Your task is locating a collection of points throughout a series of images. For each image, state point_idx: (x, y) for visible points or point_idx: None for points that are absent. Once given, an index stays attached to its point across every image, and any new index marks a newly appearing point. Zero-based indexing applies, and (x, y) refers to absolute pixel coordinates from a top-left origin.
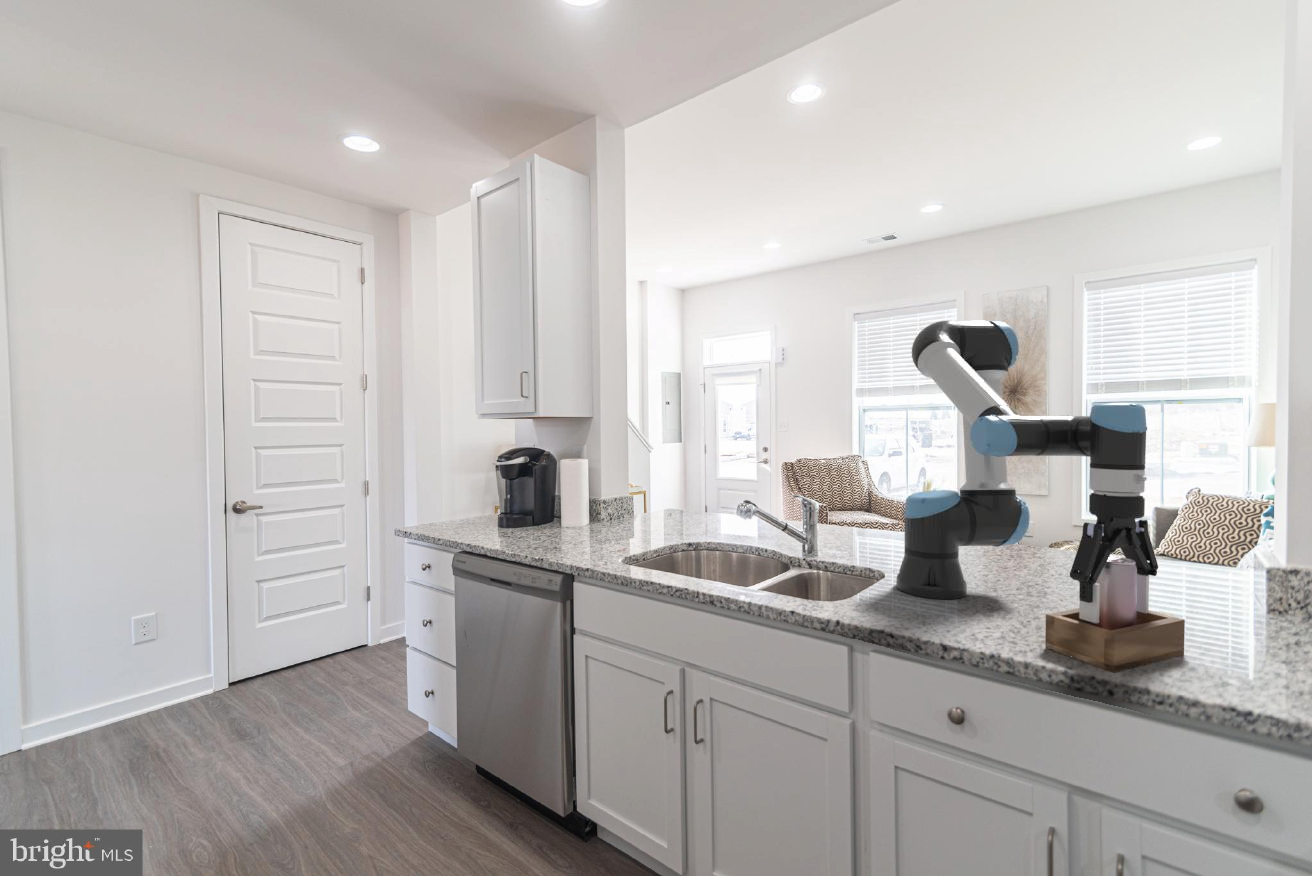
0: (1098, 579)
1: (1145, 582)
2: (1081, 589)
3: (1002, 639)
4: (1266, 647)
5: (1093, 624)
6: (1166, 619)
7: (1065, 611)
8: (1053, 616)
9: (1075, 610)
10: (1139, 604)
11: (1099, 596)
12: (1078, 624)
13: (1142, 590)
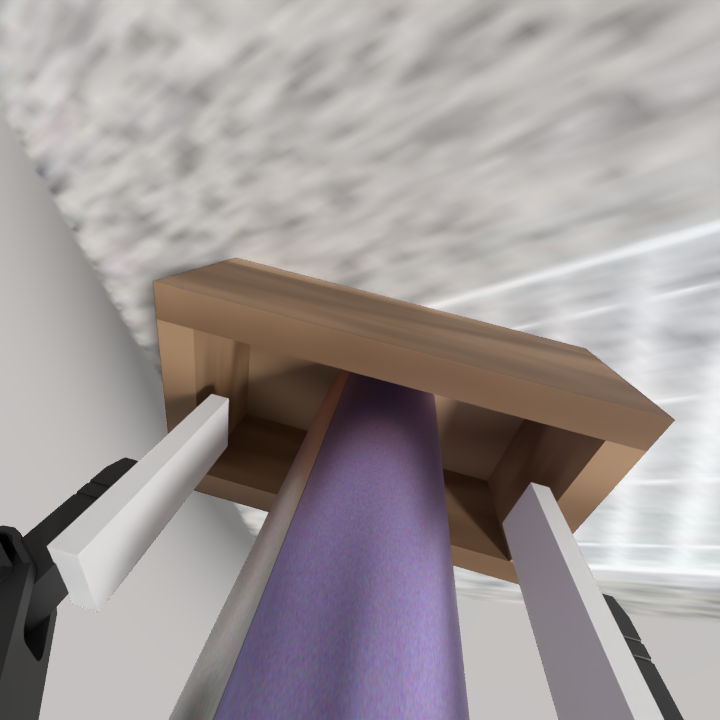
0: (226, 601)
1: (556, 694)
2: (58, 515)
3: (177, 110)
4: (711, 589)
5: (338, 387)
6: (481, 557)
7: (273, 323)
8: (157, 314)
9: (332, 346)
10: (520, 538)
11: (155, 538)
12: (166, 400)
13: (541, 623)
